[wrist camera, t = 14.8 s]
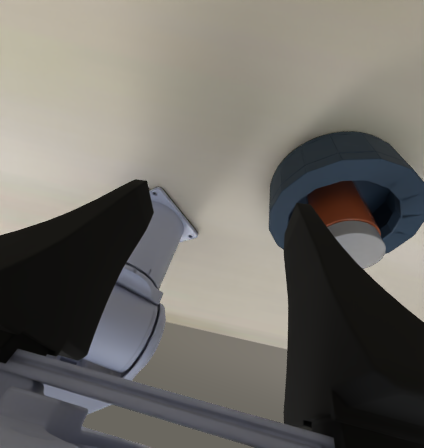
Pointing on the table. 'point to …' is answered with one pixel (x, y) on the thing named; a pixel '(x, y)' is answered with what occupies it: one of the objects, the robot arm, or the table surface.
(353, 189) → the shaker
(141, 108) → the table surface
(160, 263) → the robot arm
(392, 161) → the dark blue bowl
